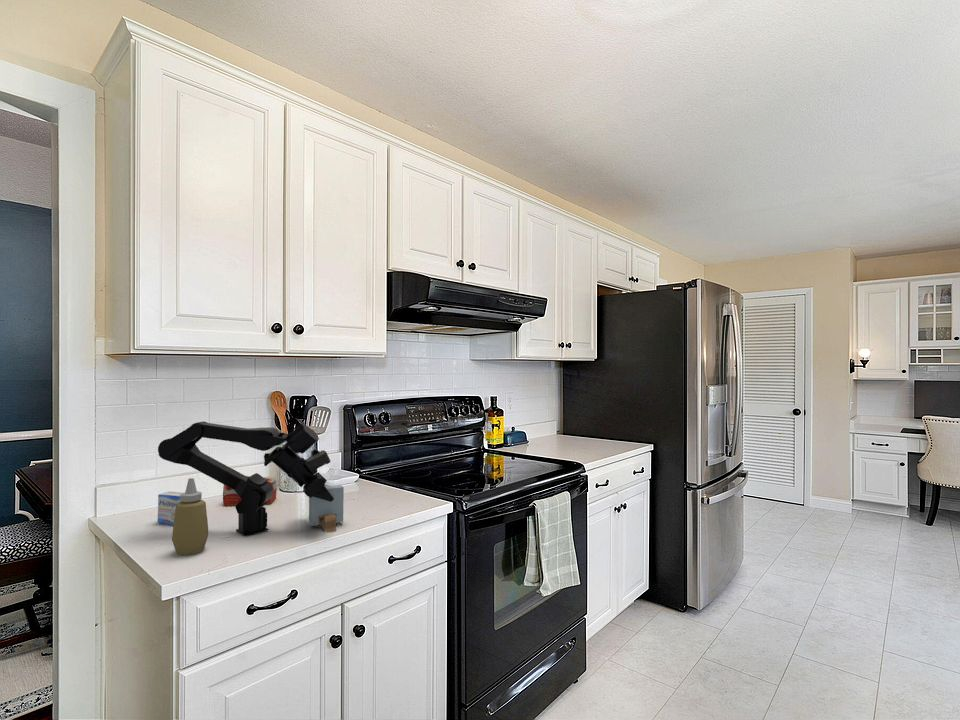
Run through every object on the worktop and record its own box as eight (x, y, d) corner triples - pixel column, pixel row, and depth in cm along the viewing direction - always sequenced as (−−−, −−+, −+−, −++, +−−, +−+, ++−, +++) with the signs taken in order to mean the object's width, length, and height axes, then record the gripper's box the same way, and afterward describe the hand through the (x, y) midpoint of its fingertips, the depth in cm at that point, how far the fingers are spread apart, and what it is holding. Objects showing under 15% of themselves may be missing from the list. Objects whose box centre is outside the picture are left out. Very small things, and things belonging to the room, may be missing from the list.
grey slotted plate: (310, 526, 145) (311, 490, 145) (308, 522, 148) (309, 487, 148) (343, 521, 149) (343, 487, 149) (340, 518, 152) (340, 484, 152)
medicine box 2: (276, 499, 178) (276, 475, 178) (271, 505, 170) (271, 481, 170) (229, 500, 175) (230, 477, 176) (222, 507, 167) (222, 482, 168)
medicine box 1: (156, 524, 149) (157, 494, 149) (169, 519, 153) (169, 490, 153) (179, 526, 147) (180, 496, 147) (191, 522, 151) (192, 492, 152)
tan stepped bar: (336, 530, 144) (336, 516, 144) (325, 532, 143) (325, 517, 143) (327, 519, 155) (327, 505, 155) (317, 520, 153) (317, 507, 153)
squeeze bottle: (173, 560, 122) (174, 483, 122) (169, 550, 129) (170, 477, 129) (211, 553, 127) (212, 479, 127) (206, 543, 133) (206, 473, 133)
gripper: (318, 446, 139) (359, 483, 144) (307, 437, 155) (344, 471, 160) (287, 478, 135) (330, 515, 140) (279, 466, 152) (317, 499, 157)
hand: (331, 498), depth 149 cm, fingers closed on grey slotted plate, 3 cm apart
